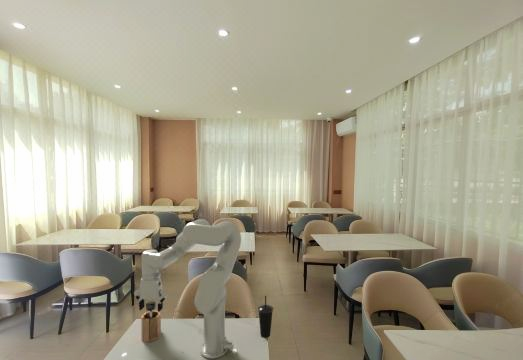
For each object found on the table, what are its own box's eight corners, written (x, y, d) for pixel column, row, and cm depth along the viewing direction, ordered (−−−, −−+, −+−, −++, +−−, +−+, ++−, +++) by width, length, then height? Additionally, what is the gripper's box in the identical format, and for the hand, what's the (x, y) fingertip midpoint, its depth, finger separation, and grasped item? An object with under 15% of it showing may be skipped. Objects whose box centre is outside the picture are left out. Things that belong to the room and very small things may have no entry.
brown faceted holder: (165, 329, 135) (165, 309, 134) (154, 343, 125) (154, 320, 124) (150, 328, 136) (150, 307, 136) (138, 341, 126) (137, 319, 125)
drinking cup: (271, 340, 127) (271, 300, 126) (256, 338, 128) (256, 298, 127) (274, 331, 134) (274, 293, 133) (259, 329, 136) (259, 291, 135)
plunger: (158, 331, 131) (158, 301, 131) (153, 337, 126) (152, 306, 126) (149, 330, 132) (149, 300, 132) (143, 336, 127) (143, 305, 127)
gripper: (170, 273, 131) (171, 306, 131) (138, 271, 133) (139, 304, 134) (162, 279, 123) (163, 315, 124) (129, 277, 126) (130, 312, 126)
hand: (151, 309), depth 129 cm, fingers open, 9 cm apart
